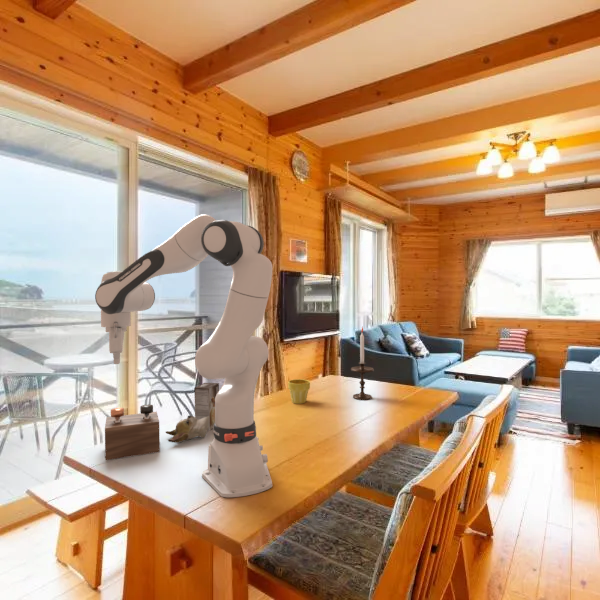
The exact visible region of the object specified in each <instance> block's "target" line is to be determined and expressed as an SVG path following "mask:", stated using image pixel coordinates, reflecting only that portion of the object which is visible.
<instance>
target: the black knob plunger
mask: <svg viewBox="0 0 600 600" xmlns="http://www.w3.org/2000/svg"><path fill="white" fill-rule="evenodd" d="M139 408H140V411H139V412H140V413H141V414H144V419H149V413H152V412H154V405H153V404H144V405H143V404H142V405H141V406H140V407H139ZM140 413H139V414H140Z"/></svg>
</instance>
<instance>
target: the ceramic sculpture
mask: <svg viewBox="0 0 600 600" xmlns="http://www.w3.org/2000/svg"><path fill="white" fill-rule="evenodd" d="M208 428H209V416H207V417H205V418H202V419H199V420H198V419H196V418H195V416H194V415H187V417H186V418H184V419H181V420H179V421H178V422H177V423H176V426H175V429H172V430H171V431H165V433H166V434H167V435H169V436H172V437H171V438H170V439H168V440H167V441H168V442H170V443H177V444H178V443H182V442H185V441H189V440H192V439H194V438H197V437H199V438H201V439H204V438H205V437H206V434H207V431H209V430H208Z"/></svg>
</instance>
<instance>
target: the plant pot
mask: <svg viewBox="0 0 600 600" xmlns="http://www.w3.org/2000/svg"><path fill="white" fill-rule="evenodd" d="M287 388H288V390H289V394H290V398H291V403H293V404H296V405H301V404H305V403H306V402H307V398H308V394H309V390H310V389H311V381H310V380H308V379H304V378H303V379H302V378H297V379H290V380H288V382H287Z"/></svg>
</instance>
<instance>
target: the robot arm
mask: <svg viewBox="0 0 600 600" xmlns="http://www.w3.org/2000/svg"><path fill="white" fill-rule="evenodd" d="M264 243H265V242H264V238H263V236H262V234H261V232H260V231H259V230H258V229H256V228H255V227H253V226H251V225H248V224H244V223H242V222H239V221H234V220H226V219H219V220H216V219H215V218H214V217H213V216H211V215H209V214H203V213H202V214H200V215H198V216H195V217H194V218H192V219H191V220H189V221H188V222H187V223H185V224H184V225H182V227H180V228H179V229H178V230H177V231H175V233H174V234H173V235H172V236H170V237H169V238H168V239H167V240H165V241H164V242H162V243H160V245H157V246H156V247H155V248H153V249H151V250H149V251H148V252H146V253H145V254H143V255H142V256H141V257H139V258H138V259H136V260H135V261H134V262H133V263H131V264H130V265H129V266H127V267H125V268H124V269H123V270H115V271H113V270H112V271H107V272H106V273H104V274H103V275H102V277H101V282H100V284H99V285H98V287H97V289H96V291H95V294H94V297H95V302H96V305H97V307H99V309H100V327H101V328H105V332H106V333H108V336H109V338H108V343H109V345H108V348H109V350H108V351H109V353H110V354H112V357H113V364H114V365H119V364H120V361H121V353H122V352H123V348H124V347H123V346H124V340H125V339H124V337H125V332H128V331H127V329H128V327H131V326H132V321H131V320H132V318H131V317H132V316H131V315H132V314H131V313H133V312H143V311H146V310H149V309H151V308H152V307H153V305H154V303H155V300H156V293H155V290H154V287H153V286H152V285H151V284H150V283H149V282H148V281H149V280H151V279H153V278H155V277H158V276H159V277H160V276H163V275H171V274H181V273H185V272H188V271H190V270H192V269H193V268H195V267H197V266H198V265H199V264H201V263H202V262H203V261H204V260H205V259H206V258H208V256H210V257H212V258H213V259H214V260H216V261H217V262H219V263H221V264H222V265H223V266H225V267H231V268H232V280H231V282H230V287H229V291H228V295H227V299H226V303H225V307H224V310H223V313H222V316H221V318H220V320H219V322H218V324H217V326H216V327H215V329H214V330H213V332H212V334H211V335H210V336H209V338H208V339H207V340H206V341H205V342H204V343H203V344H202V345H200V346H199V347H198V348H197V350H196V352H195V357H194V364H195V368H196V370H197V372H198V374H199V375H200V376H201V377H203V378H204V379H207V380H224V381H223V384H222V385H221V388H219V391H218V393H217V395H216V397H215V423H214V428H212V430H213V440H212V441H211V443H209V445H208V449H207V450H208V451H207V452H208V453H207V469H205V470H204V471H202V473H201V477H202V479H204V480H205V481H206V482H207V483H208V484H209V486H210V487H211V488H212V489H213V490H214V491H215V492H216V493H218V495H219V496H221V497H223V498H240V497H247V496H250V495H255V494H259V493H262V492H265V491H267V490H269V489H271V488H273V481H272V477H271V474H270V471H269V467H268V461H269V460H268V458H269V457H268V454H267V453H263V454H262V451H264V447H263V445H260V442H259V437H258V436H257V426H256V421H255V417H254V416H255V415H254V408H255V402H254V401H255V392H256V388H257V383H258V381H259V380H258V379H259V376H260V373H261V370H262V369H263V366H264V365H265V363H266V362H267V360H268V358H269V347H268V344H267V342H266V341H265V340H264V339H263V338H262V337H260V336H255V335H253V333H255V331H256V330H257V329H258V328H259V327H260V326H261V325H262V323H263V320H264V316H265V313H266V312H265V311H266V308H267V304H268V301H269V296H270V293H271V292H270V291H271V285H272V280H273V263H272V261H271V260H270V259H269V258H268V257H267V256H266V255H264V254H263V253H262V252H263V250H264V245H265V244H264Z"/></svg>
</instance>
